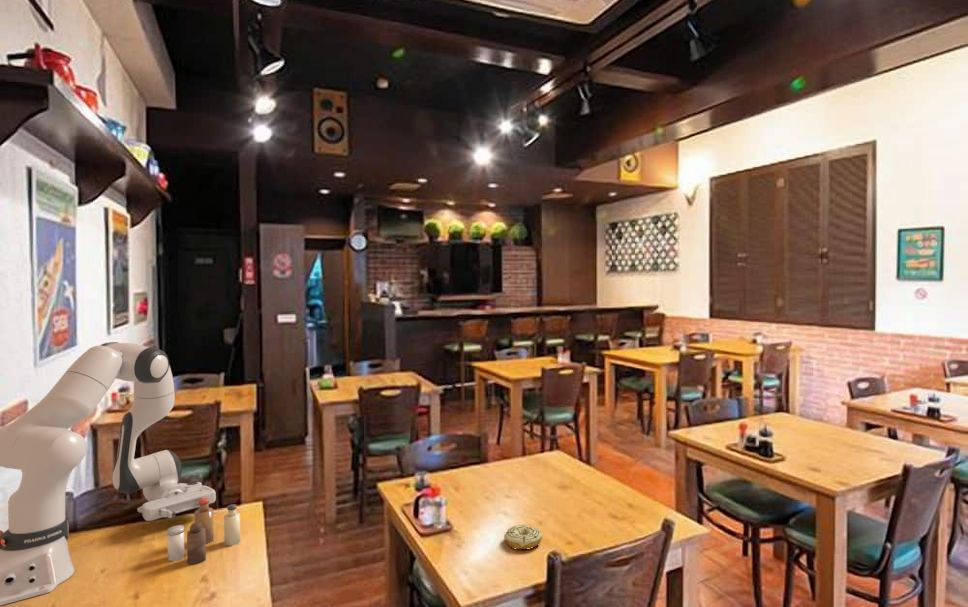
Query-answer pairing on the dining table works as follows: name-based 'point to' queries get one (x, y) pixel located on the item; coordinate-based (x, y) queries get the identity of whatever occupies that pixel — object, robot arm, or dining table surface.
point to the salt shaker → (175, 542)
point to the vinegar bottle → (232, 526)
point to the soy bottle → (205, 518)
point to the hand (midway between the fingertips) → (189, 510)
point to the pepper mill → (196, 544)
